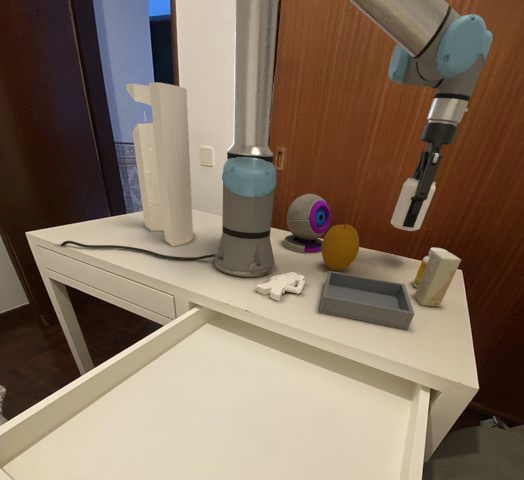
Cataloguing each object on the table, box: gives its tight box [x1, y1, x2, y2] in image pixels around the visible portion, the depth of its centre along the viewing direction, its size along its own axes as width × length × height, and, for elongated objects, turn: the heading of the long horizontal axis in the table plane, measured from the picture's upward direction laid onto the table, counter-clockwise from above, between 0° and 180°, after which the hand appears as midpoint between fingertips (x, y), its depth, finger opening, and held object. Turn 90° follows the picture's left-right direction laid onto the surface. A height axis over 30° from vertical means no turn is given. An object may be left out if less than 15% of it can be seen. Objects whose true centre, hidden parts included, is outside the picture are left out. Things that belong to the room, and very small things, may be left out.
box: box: [413, 251, 462, 308], centre depth 68 cm, size 5×4×11 cm
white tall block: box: [125, 81, 194, 247], centre depth 84 cm, size 35×11×21 cm
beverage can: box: [390, 177, 437, 232], centre depth 83 cm, size 8×8×12 cm
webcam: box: [283, 193, 331, 254], centre depth 92 cm, size 13×13×15 cm
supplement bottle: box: [412, 247, 449, 289], centre depth 75 cm, size 5×5×10 cm
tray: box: [318, 270, 415, 330], centre depth 65 cm, size 18×15×4 cm
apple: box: [320, 223, 360, 272], centre depth 80 cm, size 10×10×12 cm
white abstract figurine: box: [256, 271, 306, 302], centre depth 69 cm, size 9×12×2 cm
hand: (405, 223), depth 86 cm, fingers closed on beverage can, 8 cm apart
